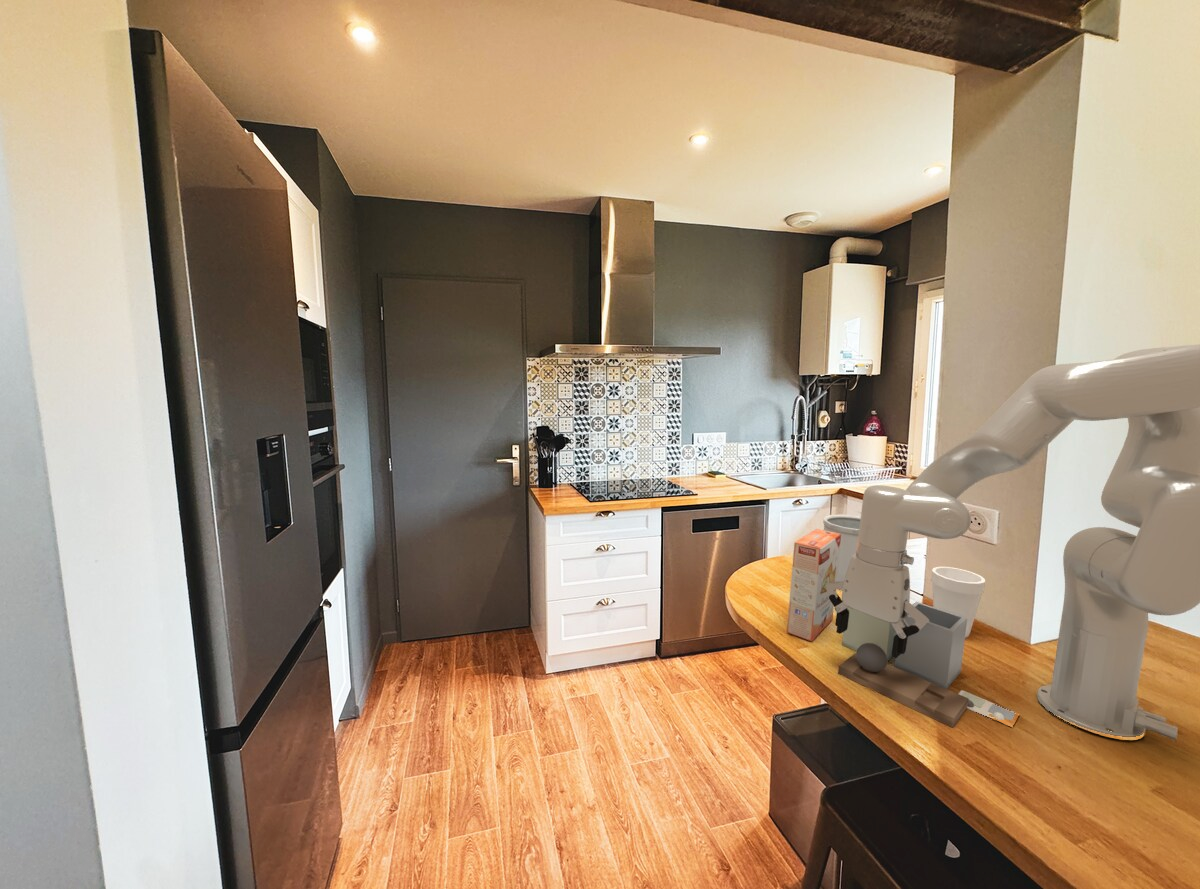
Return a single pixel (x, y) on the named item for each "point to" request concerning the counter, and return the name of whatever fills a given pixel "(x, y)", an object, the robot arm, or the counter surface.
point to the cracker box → (812, 583)
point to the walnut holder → (908, 690)
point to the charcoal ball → (871, 657)
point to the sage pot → (868, 632)
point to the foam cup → (957, 592)
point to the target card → (986, 707)
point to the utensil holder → (844, 539)
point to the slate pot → (935, 647)
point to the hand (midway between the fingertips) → (868, 642)
